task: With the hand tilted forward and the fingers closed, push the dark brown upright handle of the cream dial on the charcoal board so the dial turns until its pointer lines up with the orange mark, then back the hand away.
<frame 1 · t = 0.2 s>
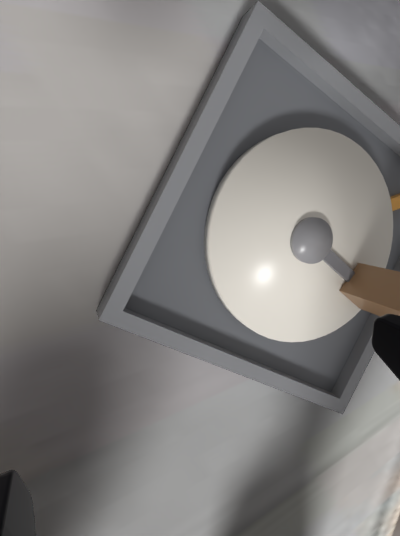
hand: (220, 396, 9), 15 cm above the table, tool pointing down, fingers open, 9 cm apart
dial: (353, 247, 20), point 6 cm above the table, hinge at 0.0°
dial board: (290, 236, 26), on the table
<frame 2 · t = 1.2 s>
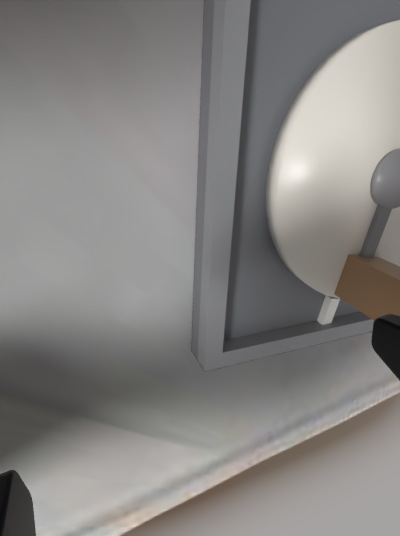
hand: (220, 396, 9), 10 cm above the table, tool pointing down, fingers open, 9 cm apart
dial board: (359, 171, 21), on the table
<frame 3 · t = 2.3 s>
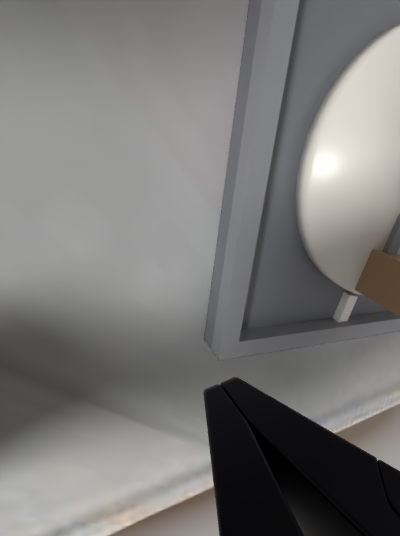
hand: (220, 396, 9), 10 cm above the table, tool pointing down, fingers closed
dial board: (386, 167, 21), on the table
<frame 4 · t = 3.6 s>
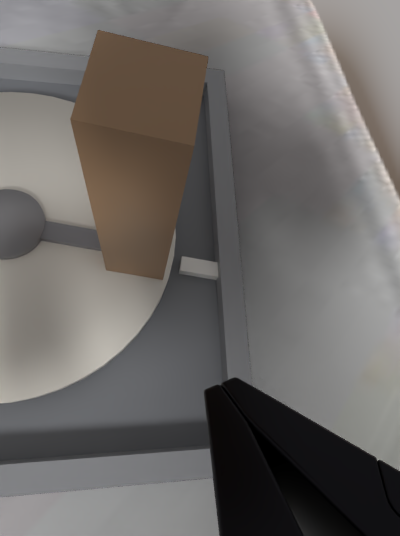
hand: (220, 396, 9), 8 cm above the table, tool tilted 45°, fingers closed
dial board: (24, 246, 17), on the table
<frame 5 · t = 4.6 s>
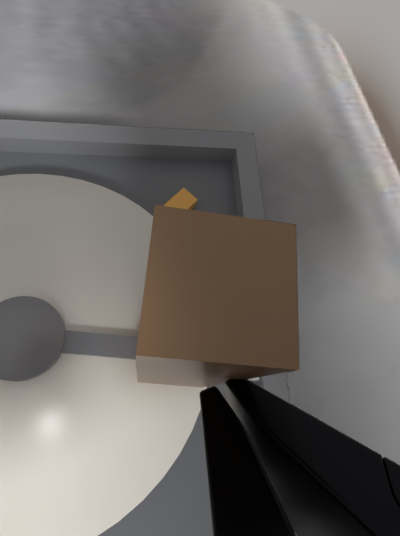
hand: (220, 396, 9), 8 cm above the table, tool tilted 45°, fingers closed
dial board: (39, 346, 16), on the table
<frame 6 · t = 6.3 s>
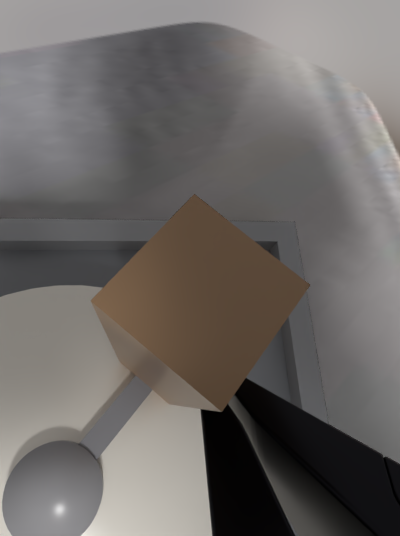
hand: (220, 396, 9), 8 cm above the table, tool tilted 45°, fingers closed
dial: (19, 532, 8), point 6 cm above the table, hinge at 57.8°, touching gripper
dial board: (68, 476, 14), on the table
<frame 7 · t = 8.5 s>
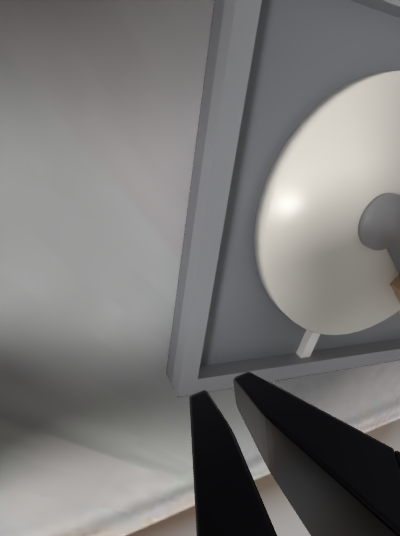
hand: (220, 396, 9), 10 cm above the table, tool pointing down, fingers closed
dial board: (349, 209, 21), on the table
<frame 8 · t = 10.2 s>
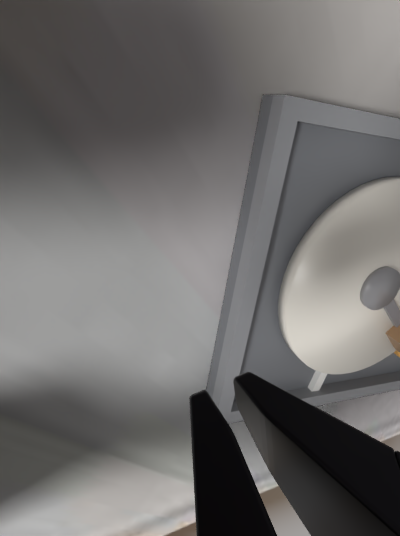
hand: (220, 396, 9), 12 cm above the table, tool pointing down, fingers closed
dial board: (353, 272, 26), on the table
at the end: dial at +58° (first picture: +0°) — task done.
